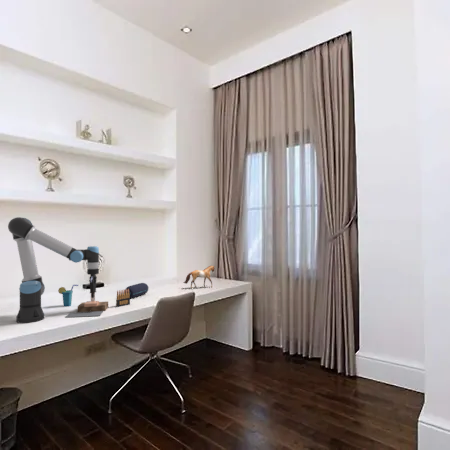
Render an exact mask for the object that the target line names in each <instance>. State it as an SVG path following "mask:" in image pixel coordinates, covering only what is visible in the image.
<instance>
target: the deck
mask: <svg viewBox="0 0 450 450" xmlns="http://www.w3.org/2000/svg"><path fill="white" fill-rule="evenodd" d="M86 302H87V301H86ZM86 302H80V304H78V305H77V312H95V311H103V312H105V311H107V309H108V308H109V301H99V304H98V305H97V306H92V307H84V304H85V303H86Z"/></svg>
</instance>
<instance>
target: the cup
mask: <svg viewBox="0 0 450 450" xmlns="http://www.w3.org/2000/svg"><path fill="white" fill-rule="evenodd" d="M75 286H76V287H79V284H72V287H71V289H70V290H67V289H66V288H65V287H63V286H61V287H59V288H58V293H59V294H60V295H62V301H63V302H62V304H63V307H64V308H65V307H71V306H72V301H73V289H74V287H75Z"/></svg>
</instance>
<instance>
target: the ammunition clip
mask: <svg viewBox="0 0 450 450" xmlns="http://www.w3.org/2000/svg"><path fill="white" fill-rule="evenodd" d="M125 289H126V288H125ZM125 289H121V290H117V291H116V301H115V307H117V308H120V307H125V306H131V298H129V289H128V291H127V289H126V291H125Z"/></svg>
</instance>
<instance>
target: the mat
mask: <svg viewBox="0 0 450 450" xmlns="http://www.w3.org/2000/svg"><path fill="white" fill-rule="evenodd" d="M103 312H104V311H93V312H78V311H77V312H76V311H75V312H74V311H73V312H69V313H68V314H67V315H66V316H64V318H65V319H66V318H67V319H68V318H71V319H72V318H85V317H86V318H87V317H88V318H89V317H92V318H93V317H101V316H102V314H103Z"/></svg>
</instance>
